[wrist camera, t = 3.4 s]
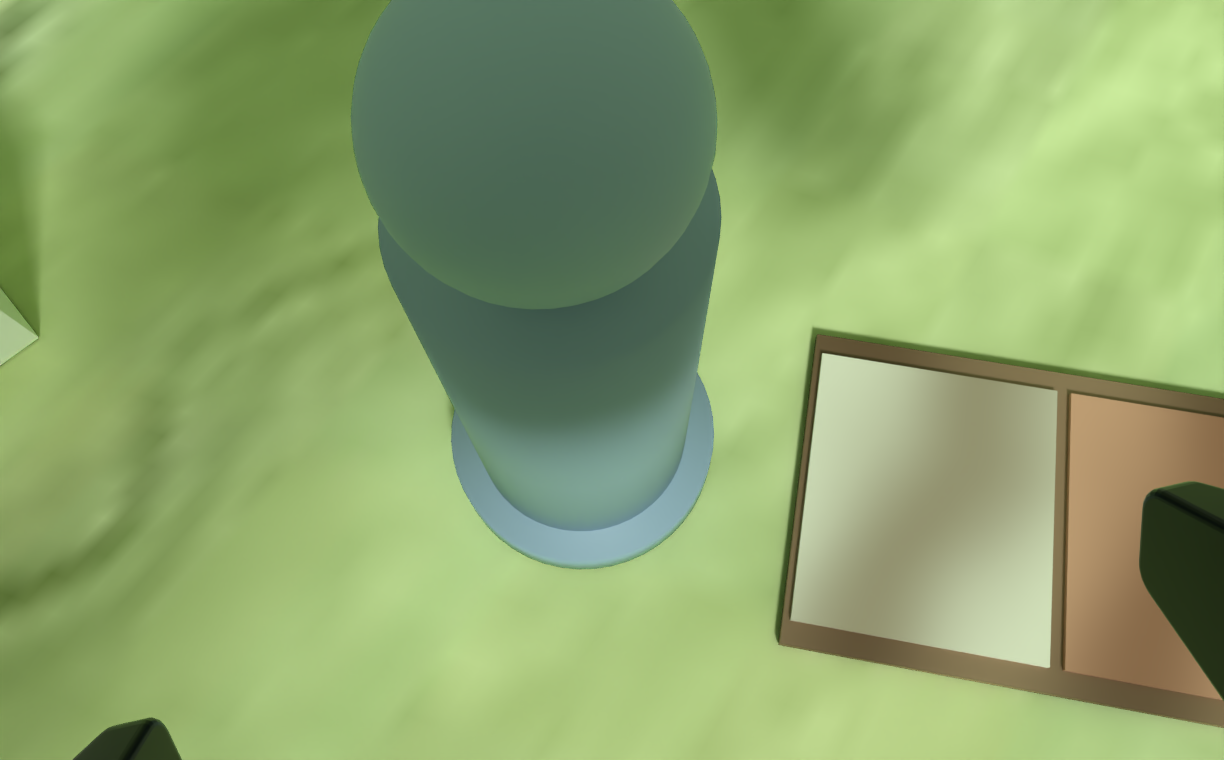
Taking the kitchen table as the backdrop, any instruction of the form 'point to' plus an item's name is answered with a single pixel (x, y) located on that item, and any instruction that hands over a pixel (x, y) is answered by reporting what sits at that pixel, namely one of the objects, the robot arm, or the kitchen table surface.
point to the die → (12, 330)
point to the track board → (993, 525)
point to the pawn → (552, 254)
